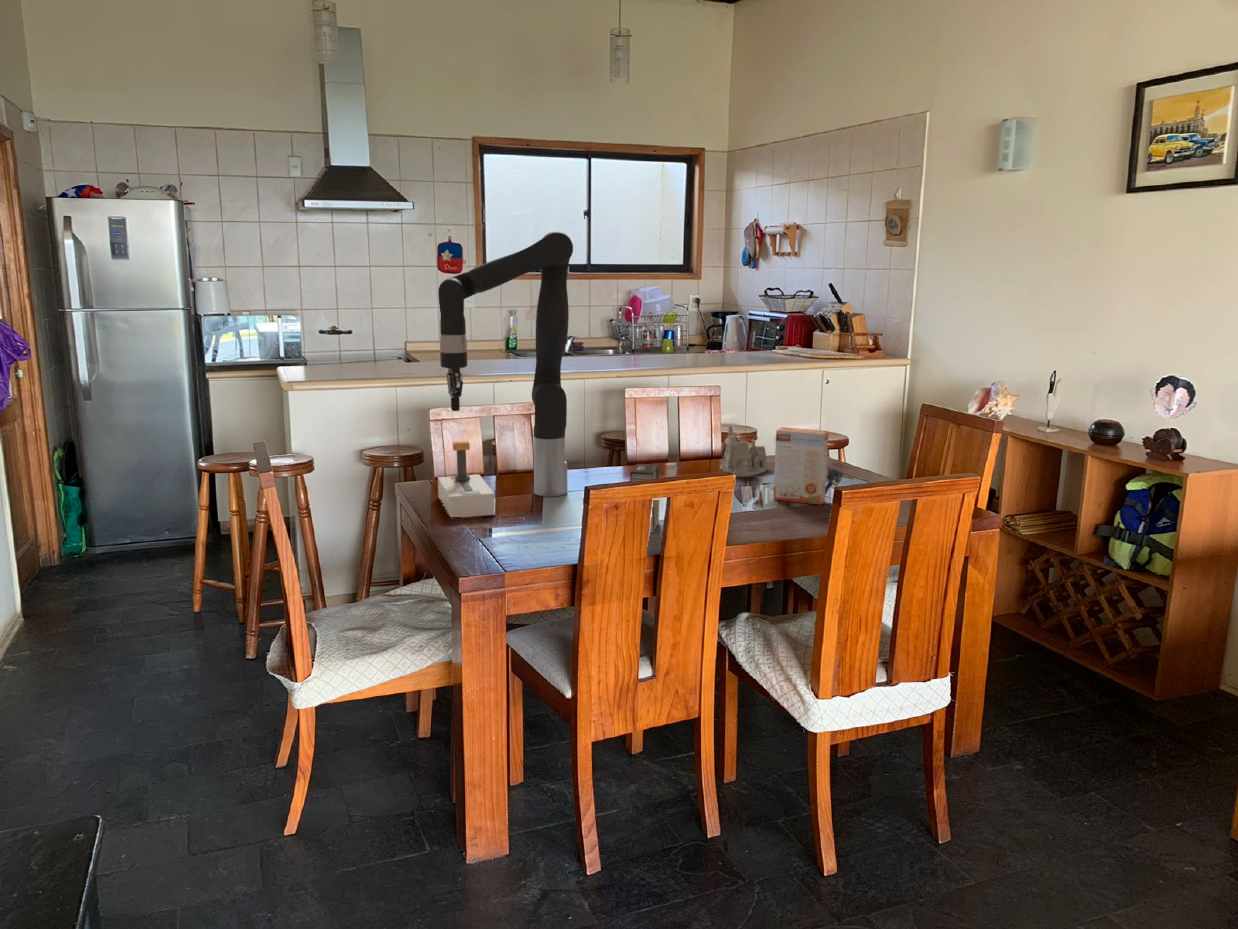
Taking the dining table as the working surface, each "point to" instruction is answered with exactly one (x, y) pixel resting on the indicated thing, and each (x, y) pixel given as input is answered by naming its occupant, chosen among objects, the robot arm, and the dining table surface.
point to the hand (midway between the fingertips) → (455, 410)
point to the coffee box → (647, 473)
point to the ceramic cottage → (743, 456)
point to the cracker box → (800, 465)
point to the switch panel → (466, 496)
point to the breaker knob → (461, 460)
